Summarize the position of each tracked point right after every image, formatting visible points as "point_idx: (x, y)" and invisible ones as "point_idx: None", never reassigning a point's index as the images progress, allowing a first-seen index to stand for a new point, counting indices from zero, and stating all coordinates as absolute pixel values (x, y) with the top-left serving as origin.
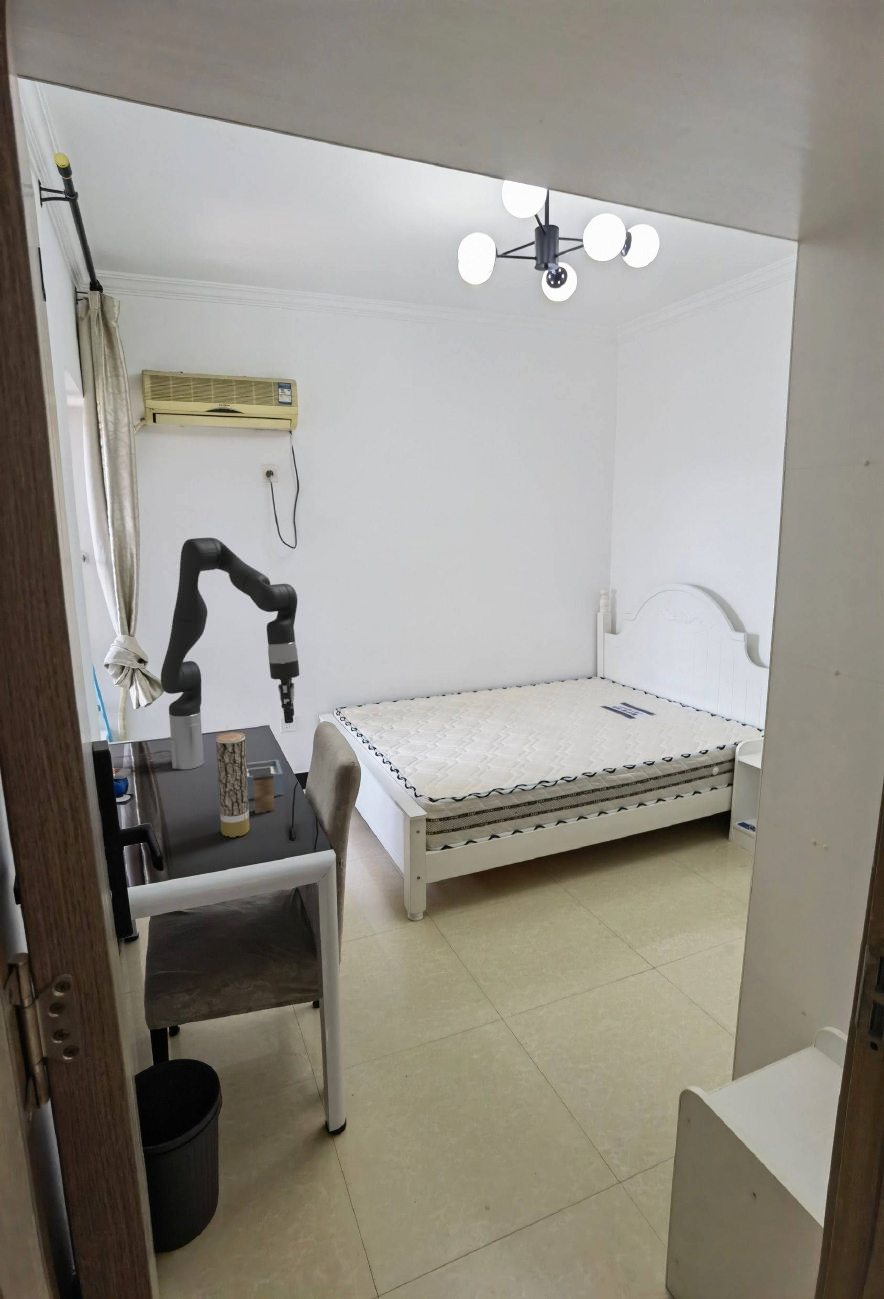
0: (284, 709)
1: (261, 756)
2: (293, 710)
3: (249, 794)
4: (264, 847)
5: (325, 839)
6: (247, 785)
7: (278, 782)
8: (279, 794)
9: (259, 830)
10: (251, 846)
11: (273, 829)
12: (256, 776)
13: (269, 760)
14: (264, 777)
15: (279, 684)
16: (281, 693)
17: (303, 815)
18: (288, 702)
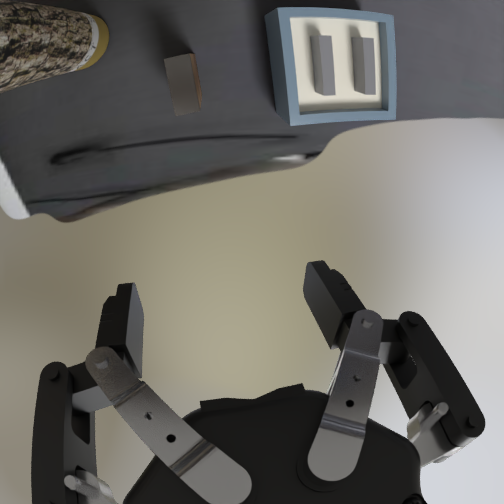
0: (116, 349)
1: (483, 94)
2: (313, 313)
3: (269, 36)
4: (26, 118)
5: (60, 213)
6: (34, 81)
7: (283, 108)
8: (275, 104)
9: (88, 87)
10: (29, 94)
11: (91, 114)
12: (175, 65)
13: (395, 97)
14: (170, 90)
15: (331, 482)
16: (36, 466)
17: (154, 163)
18: (342, 332)
